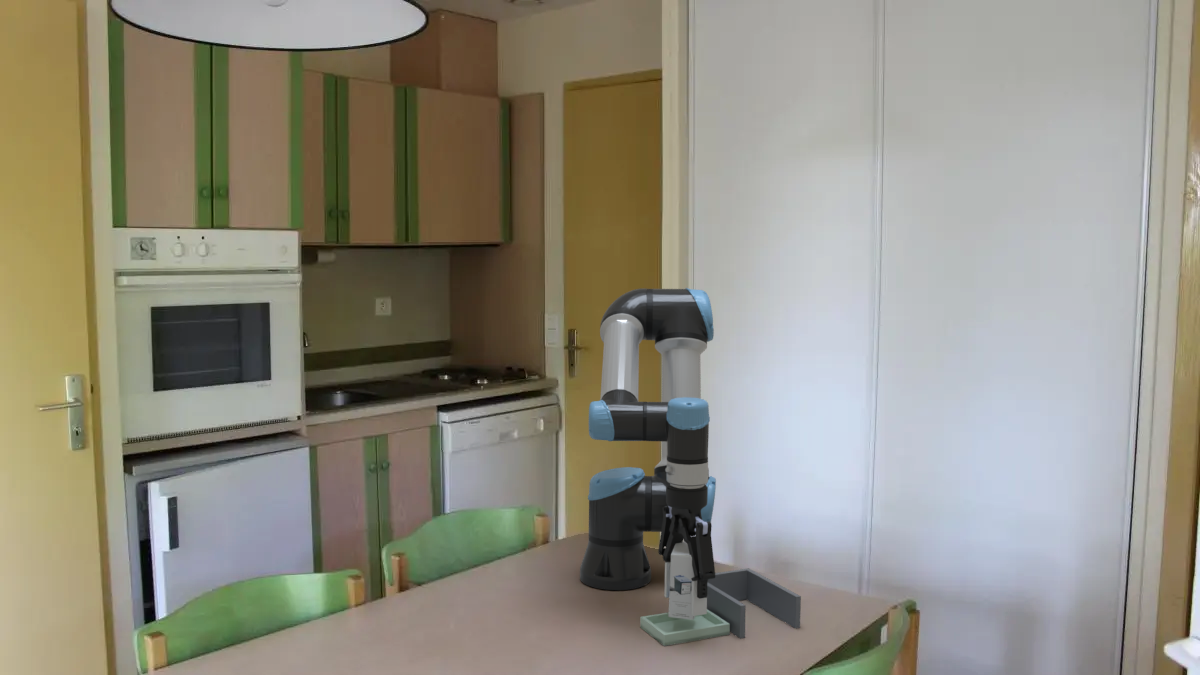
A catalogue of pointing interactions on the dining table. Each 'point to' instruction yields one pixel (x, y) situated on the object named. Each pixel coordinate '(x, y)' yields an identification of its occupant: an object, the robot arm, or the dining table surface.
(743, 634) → the printer bay
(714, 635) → the tray
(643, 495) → the robot arm
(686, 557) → the ink box
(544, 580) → the dining table surface
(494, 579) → the dining table surface
